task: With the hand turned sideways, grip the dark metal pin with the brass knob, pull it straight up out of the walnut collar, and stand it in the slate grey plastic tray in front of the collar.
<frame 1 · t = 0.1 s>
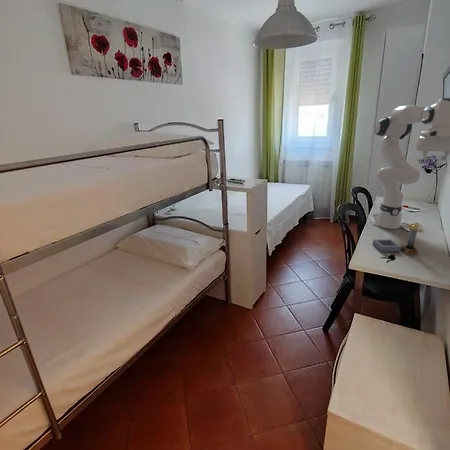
hand: (434, 160, 160), 48 cm above the table, tool pointing down, fingers open, 8 cm apart
collar: (408, 252, 165), on the table
tray: (385, 248, 170), on the table
pin: (411, 239, 163), in the collar
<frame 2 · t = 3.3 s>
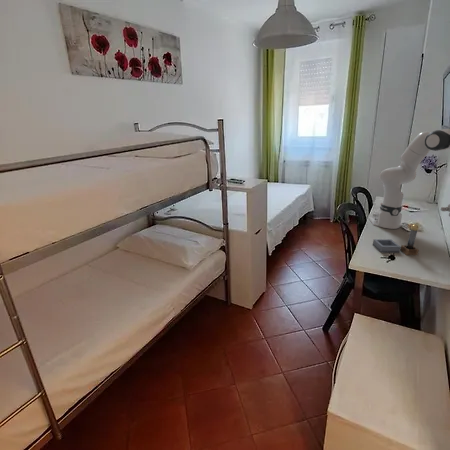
hand: (445, 211, 155), 24 cm above the table, tool horizontal, fingers open, 8 cm apart
nothing on the table moved.
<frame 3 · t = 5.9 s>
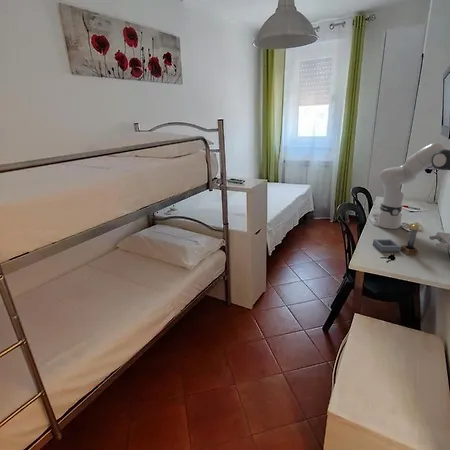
hand: (433, 241, 161), 8 cm above the table, tool horizontal, fingers open, 8 cm apart
nothing on the table moved.
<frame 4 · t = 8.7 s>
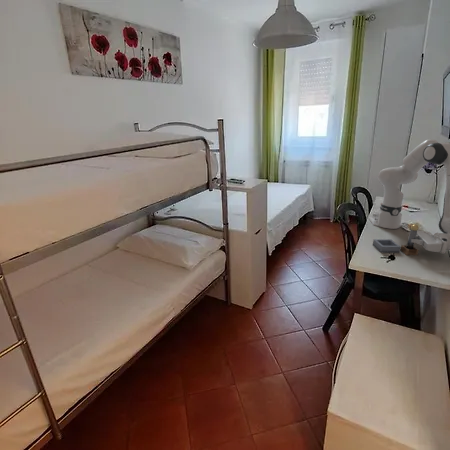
hand: (410, 238, 163), 8 cm above the table, tool horizontal, fingers closed on pin, 3 cm apart
pin: (411, 238, 163), in the collar, touching gripper
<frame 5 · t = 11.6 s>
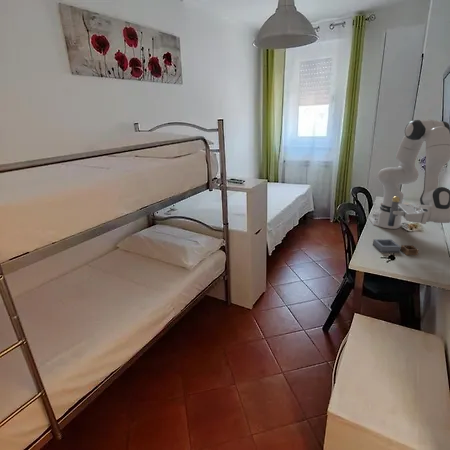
hand: (391, 210, 163), 22 cm above the table, tool horizontal, fingers closed on pin, 3 cm apart
pin: (393, 211, 162), point 22 cm above the table, touching gripper
when the fingers open (10 cm above the table, at t = 14.7 s): pin stays where it is, resting on tray.
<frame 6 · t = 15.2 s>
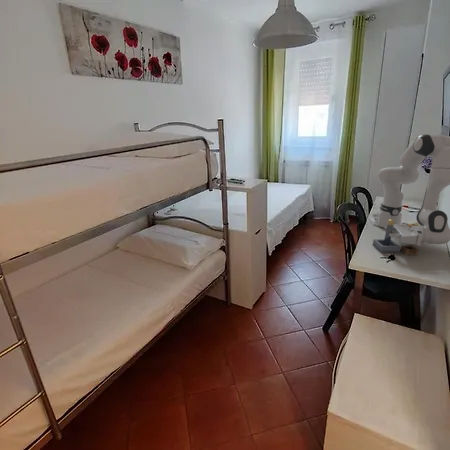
hand: (387, 231, 167), 10 cm above the table, tool horizontal, fingers open, 8 cm apart
pin: (388, 233, 167), in the tray, point 9 cm above the table
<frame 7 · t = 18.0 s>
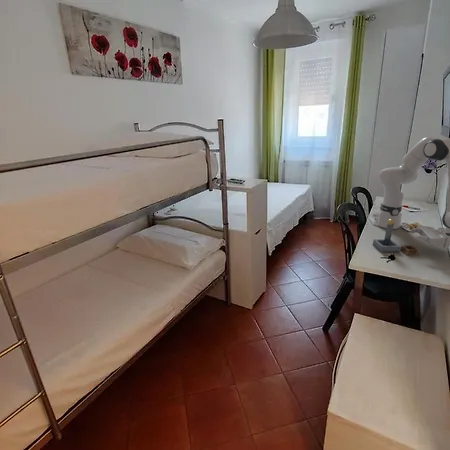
hand: (413, 233, 164), 10 cm above the table, tool horizontal, fingers open, 8 cm apart
nothing on the table moved.
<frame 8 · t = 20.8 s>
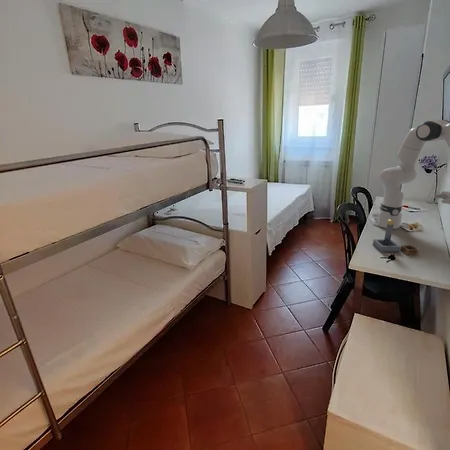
hand: (437, 198, 156), 30 cm above the table, tool horizontal, fingers open, 8 cm apart
nothing on the table moved.
at the end: pin inside the target area on the tray (0.0 cm from its centre), point 9.1 cm above the tray's base; the gripper is holding nothing; pin moved 11.2 cm from its start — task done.
